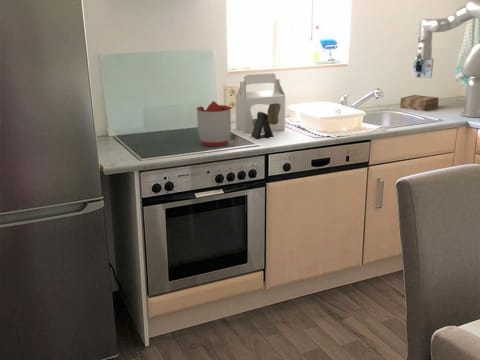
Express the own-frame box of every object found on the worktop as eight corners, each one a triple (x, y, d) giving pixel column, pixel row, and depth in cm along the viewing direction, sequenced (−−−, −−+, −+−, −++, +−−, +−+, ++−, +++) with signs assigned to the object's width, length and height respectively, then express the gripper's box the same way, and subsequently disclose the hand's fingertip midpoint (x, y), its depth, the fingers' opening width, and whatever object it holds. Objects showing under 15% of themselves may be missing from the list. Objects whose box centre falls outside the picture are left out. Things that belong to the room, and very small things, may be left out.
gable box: (274, 124, 296) (274, 71, 287) (285, 129, 284) (286, 74, 275) (235, 128, 288) (234, 74, 279) (245, 133, 276) (244, 77, 268)
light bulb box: (412, 77, 330) (413, 59, 327) (413, 76, 336) (415, 57, 332) (431, 78, 326) (432, 59, 322) (432, 76, 332) (433, 58, 328)
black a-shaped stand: (268, 135, 273) (268, 110, 270) (273, 137, 268) (273, 112, 264) (251, 136, 270) (251, 112, 266) (256, 139, 265) (256, 114, 261)
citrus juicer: (220, 138, 268) (219, 96, 262) (237, 145, 254) (237, 102, 247) (190, 142, 261) (189, 99, 255) (206, 150, 247) (205, 105, 240)
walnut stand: (437, 107, 337) (438, 97, 335) (424, 111, 326) (425, 100, 324) (413, 104, 348) (414, 94, 346) (400, 107, 337) (400, 97, 335)
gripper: (423, 41, 316) (420, 72, 321) (438, 40, 328) (435, 70, 333) (411, 41, 321) (408, 71, 327) (426, 39, 333) (423, 69, 338)
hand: (422, 70), depth 330 cm, fingers closed on light bulb box, 8 cm apart
